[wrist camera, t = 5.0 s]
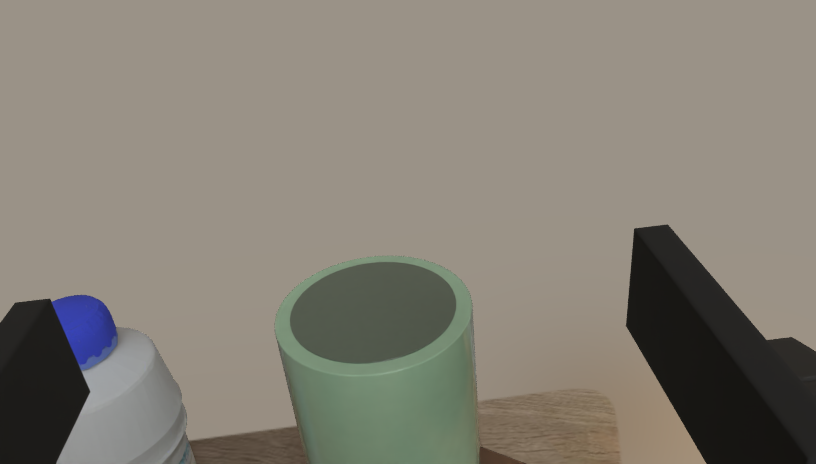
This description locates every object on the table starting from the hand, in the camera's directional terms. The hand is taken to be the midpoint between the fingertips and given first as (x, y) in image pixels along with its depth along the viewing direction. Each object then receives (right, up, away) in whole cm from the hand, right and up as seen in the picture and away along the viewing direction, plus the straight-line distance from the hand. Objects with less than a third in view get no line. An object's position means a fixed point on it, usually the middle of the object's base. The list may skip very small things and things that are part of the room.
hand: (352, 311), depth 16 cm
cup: (+1, -11, +16) cm, 19 cm away
